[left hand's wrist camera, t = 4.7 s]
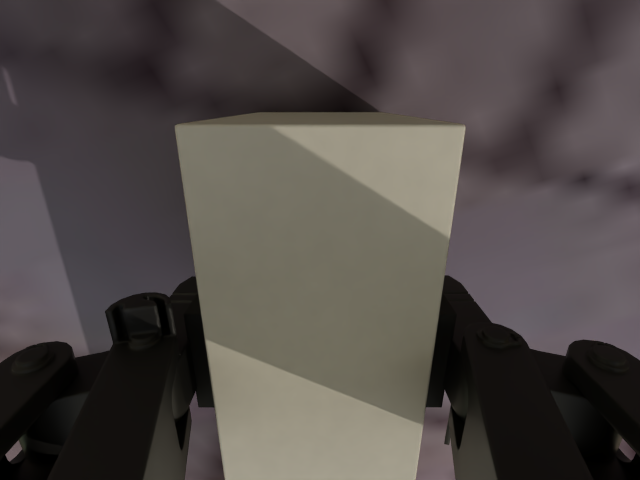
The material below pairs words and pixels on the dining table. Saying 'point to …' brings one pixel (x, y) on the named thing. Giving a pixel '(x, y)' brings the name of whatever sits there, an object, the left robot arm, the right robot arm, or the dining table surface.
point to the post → (320, 284)
